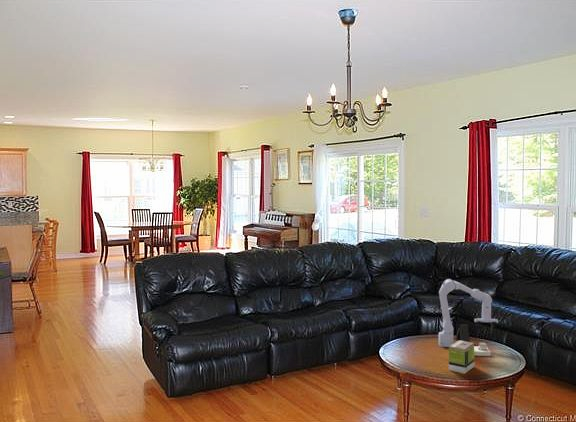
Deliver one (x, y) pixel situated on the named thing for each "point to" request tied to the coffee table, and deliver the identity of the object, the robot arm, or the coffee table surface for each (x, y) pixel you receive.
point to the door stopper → (463, 333)
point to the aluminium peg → (483, 346)
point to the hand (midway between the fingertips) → (485, 333)
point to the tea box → (461, 356)
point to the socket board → (481, 352)
